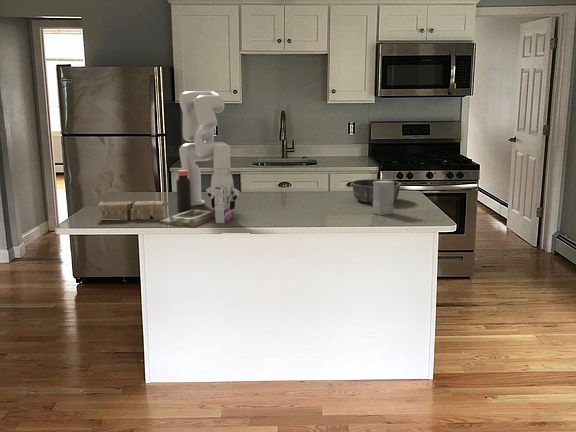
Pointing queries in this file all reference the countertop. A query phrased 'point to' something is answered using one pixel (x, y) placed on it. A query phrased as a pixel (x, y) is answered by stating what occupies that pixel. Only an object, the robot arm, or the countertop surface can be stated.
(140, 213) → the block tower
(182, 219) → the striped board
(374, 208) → the skincare box
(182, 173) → the bottle
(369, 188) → the bundt pan
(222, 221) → the candy bar box
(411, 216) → the countertop surface
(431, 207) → the countertop surface
